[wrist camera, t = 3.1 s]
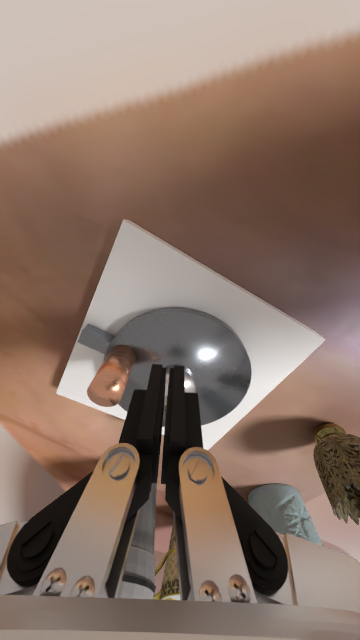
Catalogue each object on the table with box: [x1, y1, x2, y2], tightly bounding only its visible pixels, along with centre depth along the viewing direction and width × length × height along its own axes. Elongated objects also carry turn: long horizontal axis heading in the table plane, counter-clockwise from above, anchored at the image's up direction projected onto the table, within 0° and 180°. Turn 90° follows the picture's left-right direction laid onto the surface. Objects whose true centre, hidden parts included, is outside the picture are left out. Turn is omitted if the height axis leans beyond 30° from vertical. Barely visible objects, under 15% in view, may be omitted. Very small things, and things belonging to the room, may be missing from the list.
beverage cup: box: [117, 483, 157, 599], centre depth 22 cm, size 7×7×20 cm
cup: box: [313, 423, 360, 525], centre depth 22 cm, size 8×7×8 cm
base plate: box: [56, 220, 325, 450], centre depth 19 cm, size 20×20×5 cm
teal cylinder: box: [248, 484, 323, 546], centre depth 29 cm, size 10×10×12 cm
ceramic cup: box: [153, 522, 180, 600], centre depth 33 cm, size 13×10×10 cm
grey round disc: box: [78, 307, 252, 427], centre depth 17 cm, size 16×14×6 cm
